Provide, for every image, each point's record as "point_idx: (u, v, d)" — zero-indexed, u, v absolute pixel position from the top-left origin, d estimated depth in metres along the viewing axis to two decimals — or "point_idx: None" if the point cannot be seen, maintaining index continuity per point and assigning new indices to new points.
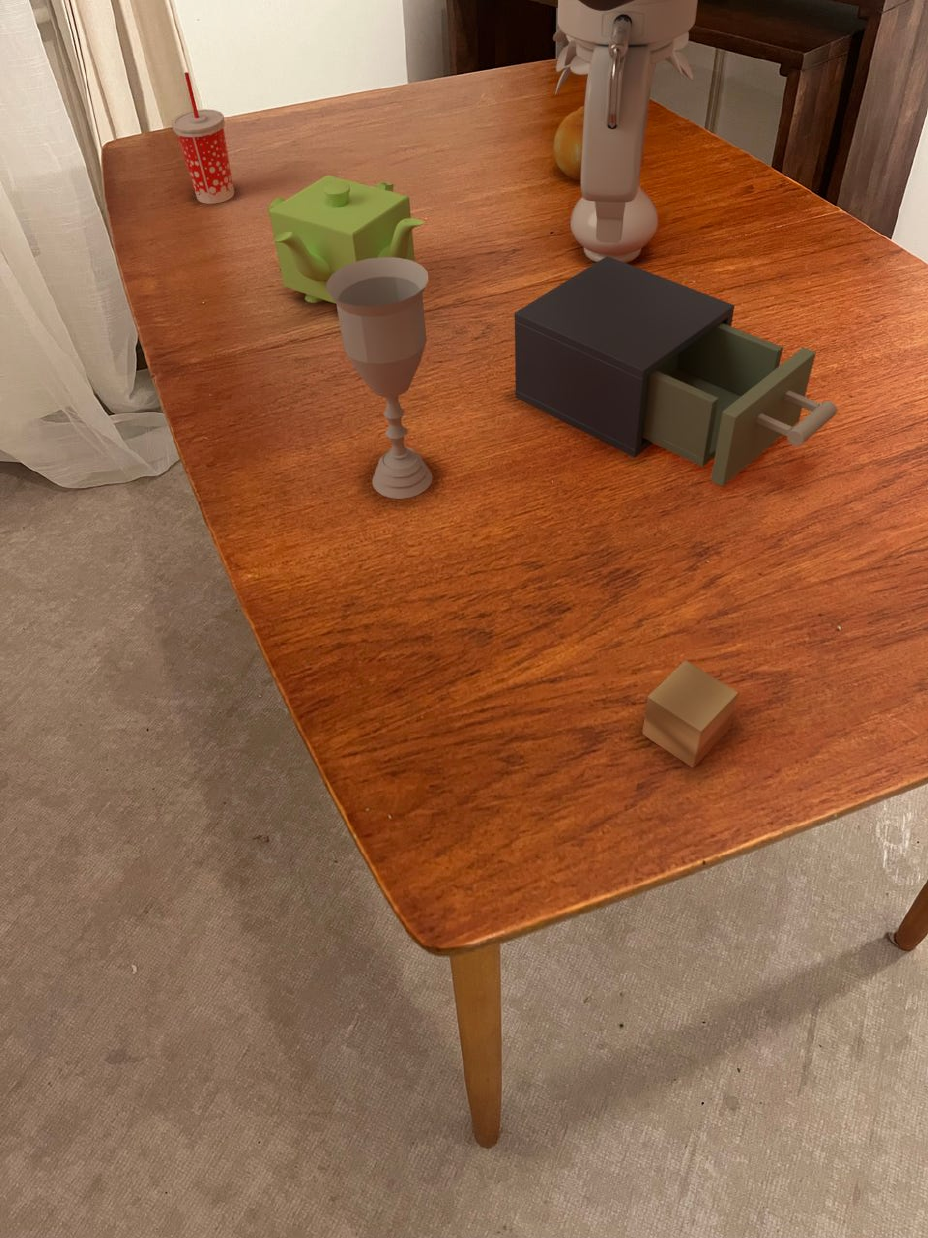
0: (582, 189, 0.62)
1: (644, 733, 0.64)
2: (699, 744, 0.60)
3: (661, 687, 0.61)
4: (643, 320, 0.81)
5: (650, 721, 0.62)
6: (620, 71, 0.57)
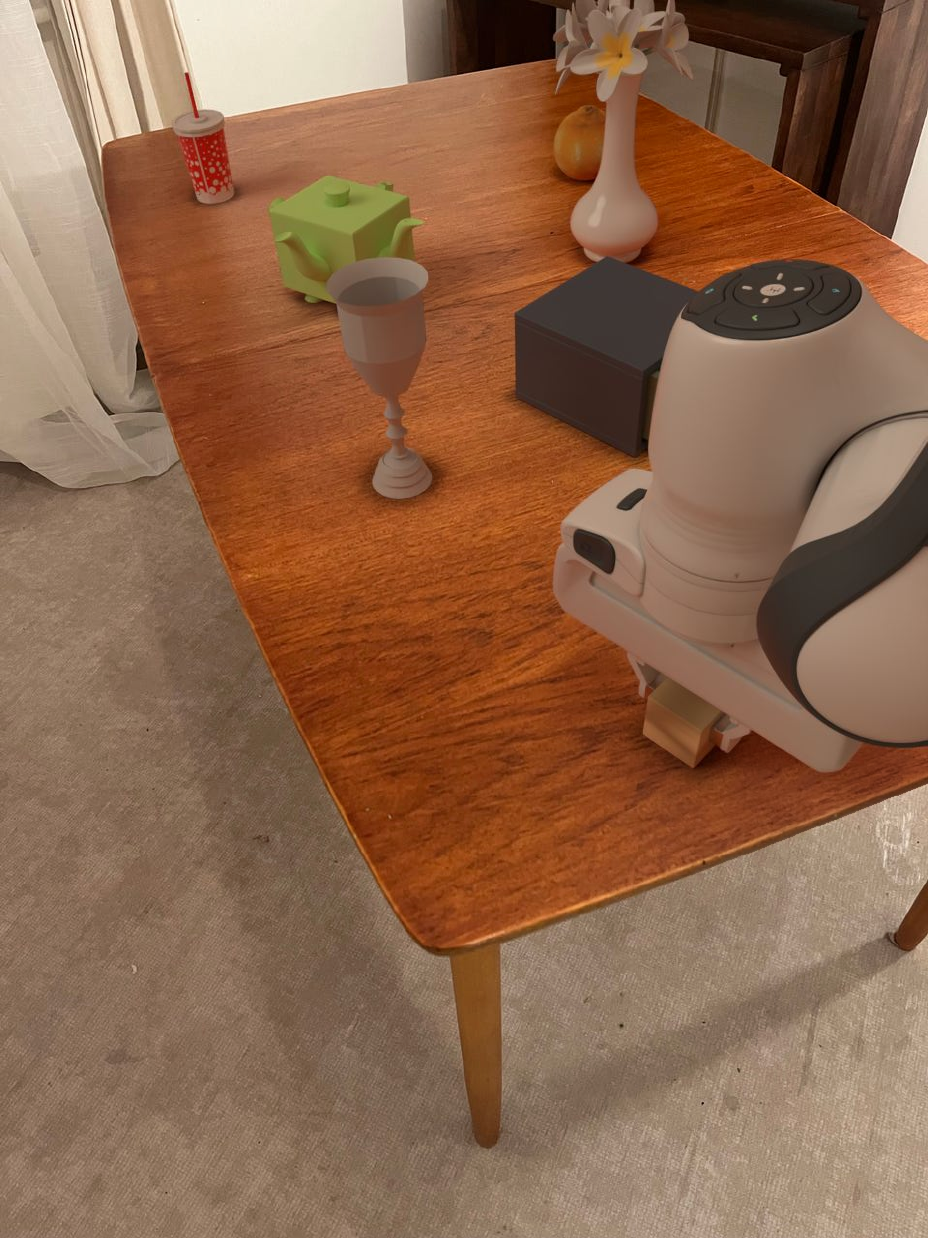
0: (833, 770, 0.53)
1: (644, 733, 0.64)
2: (699, 744, 0.60)
3: (661, 687, 0.61)
4: (643, 320, 0.81)
5: (650, 721, 0.62)
6: None
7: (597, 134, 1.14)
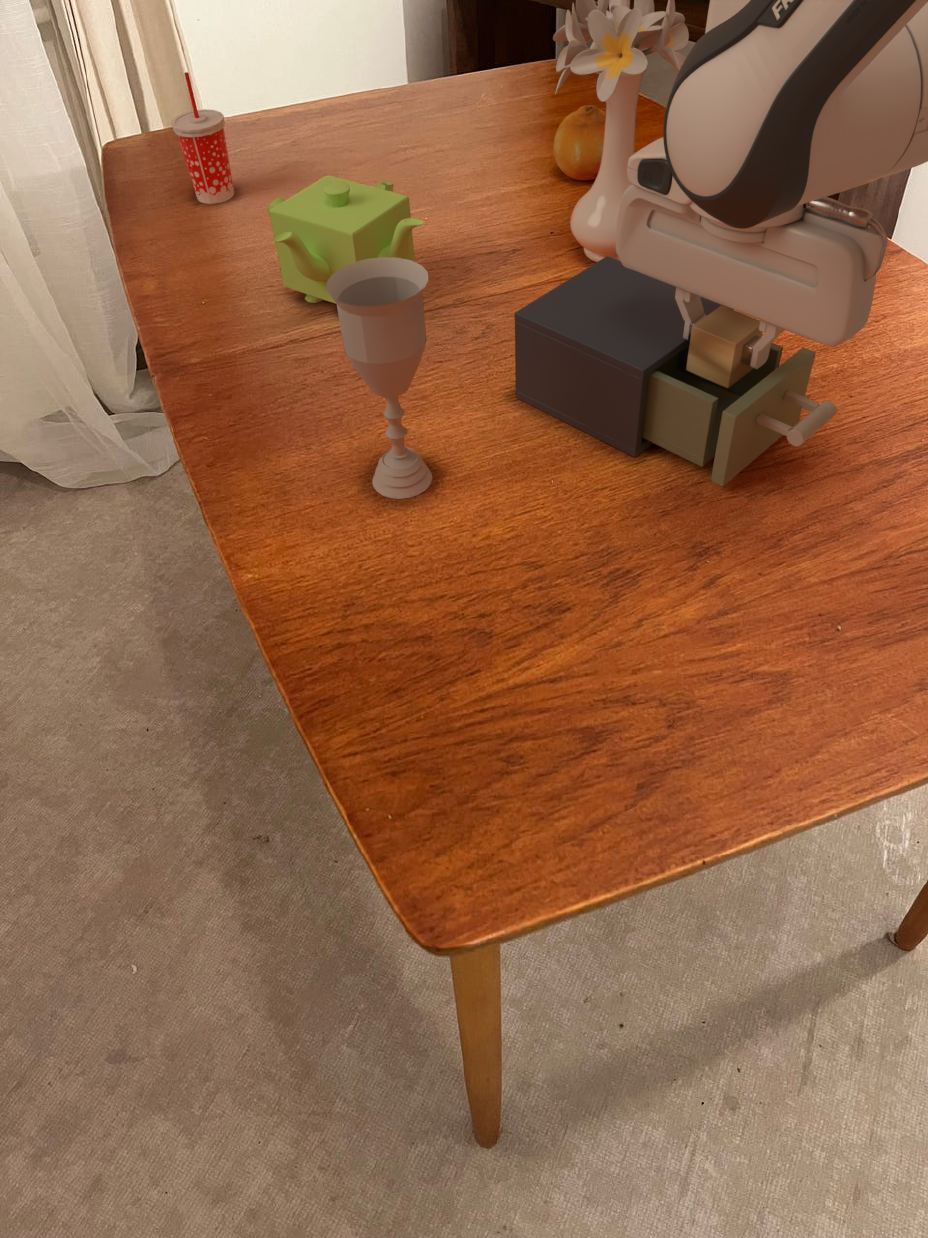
0: (841, 339, 0.68)
1: (687, 368, 0.79)
2: (733, 360, 0.75)
3: (702, 320, 0.77)
4: (643, 320, 0.81)
5: (693, 352, 0.77)
6: (885, 233, 0.64)
7: (597, 134, 1.14)
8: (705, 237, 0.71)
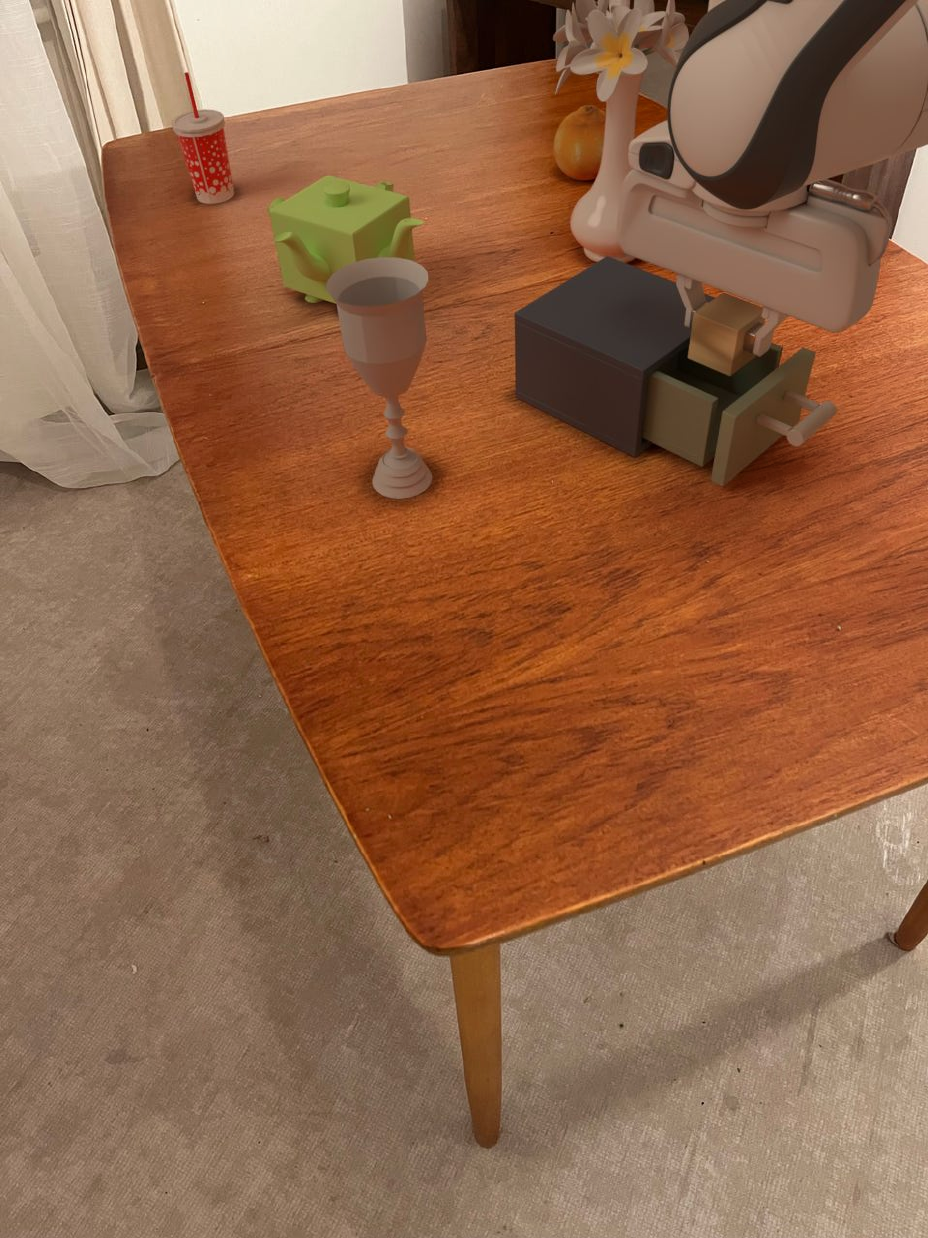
0: (845, 325, 0.67)
1: (689, 356, 0.78)
2: (736, 347, 0.74)
3: (704, 307, 0.76)
4: (643, 320, 0.81)
5: (695, 340, 0.77)
6: (890, 216, 0.63)
7: (597, 134, 1.14)
8: (707, 222, 0.70)
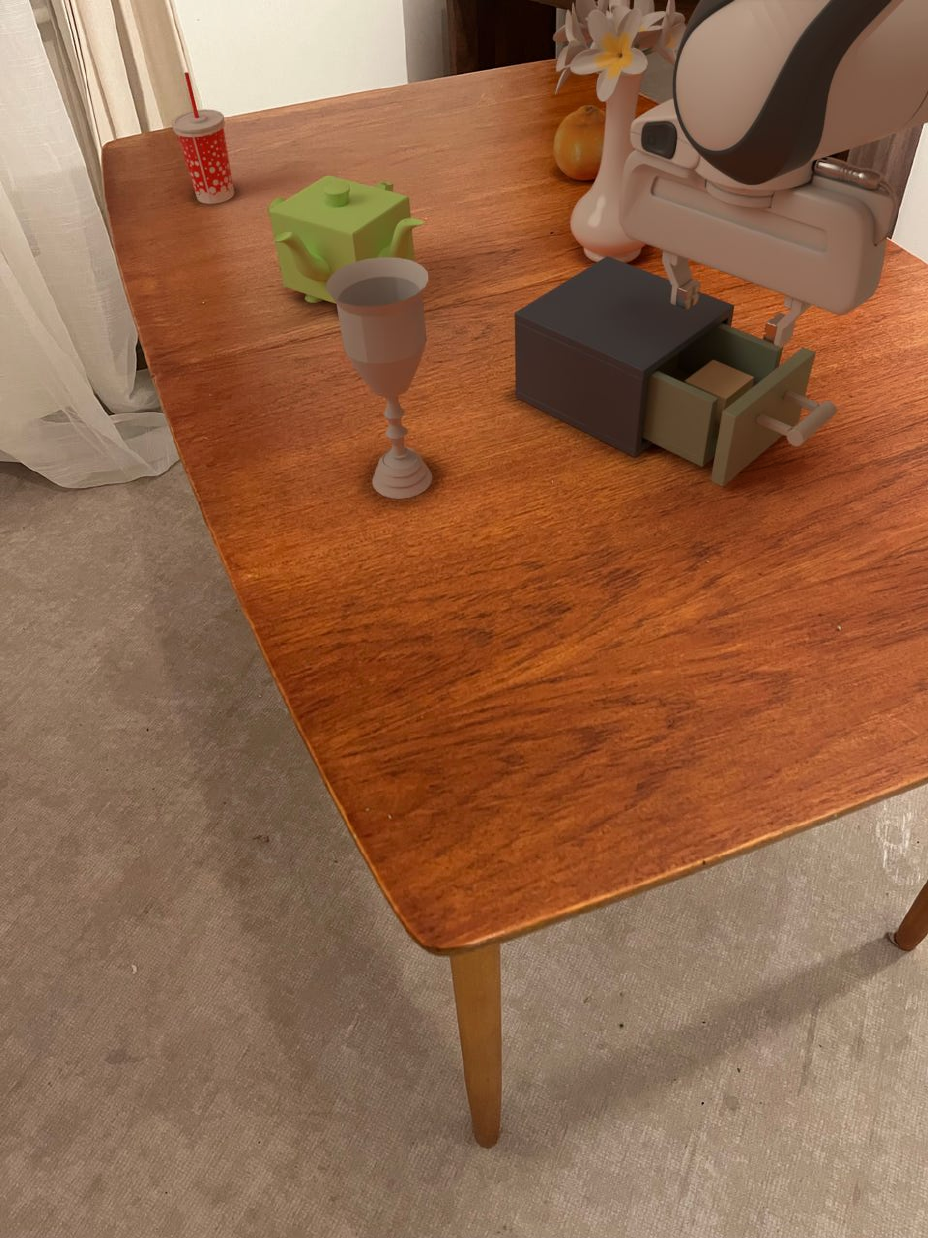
0: (850, 307, 0.66)
1: None
2: None
3: (695, 374, 0.80)
4: (643, 320, 0.81)
5: None
6: None
7: (597, 134, 1.14)
8: (710, 203, 0.70)
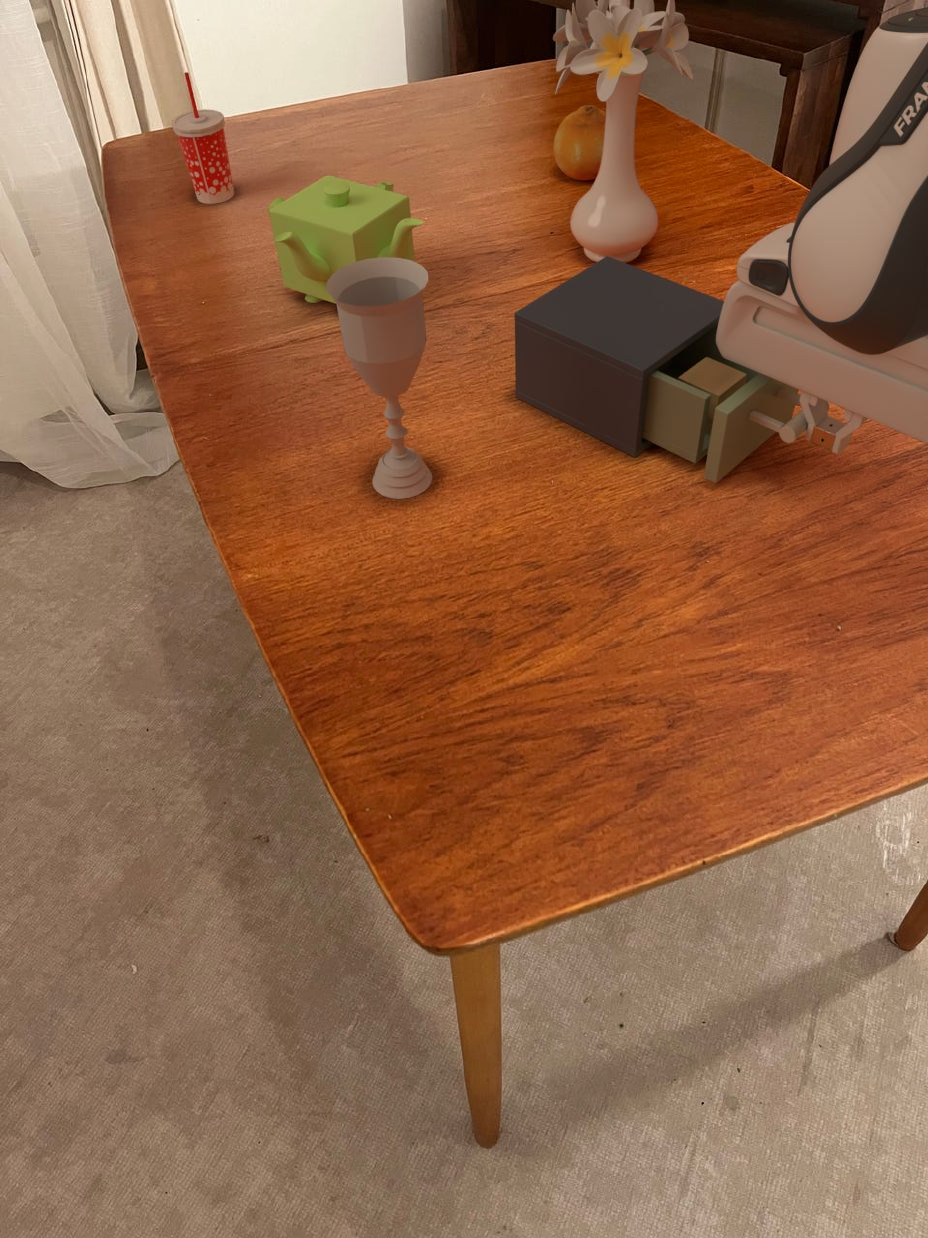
0: None
1: None
2: None
3: (688, 372, 0.81)
4: (643, 320, 0.81)
5: None
6: None
7: (597, 134, 1.14)
8: (816, 336, 0.69)
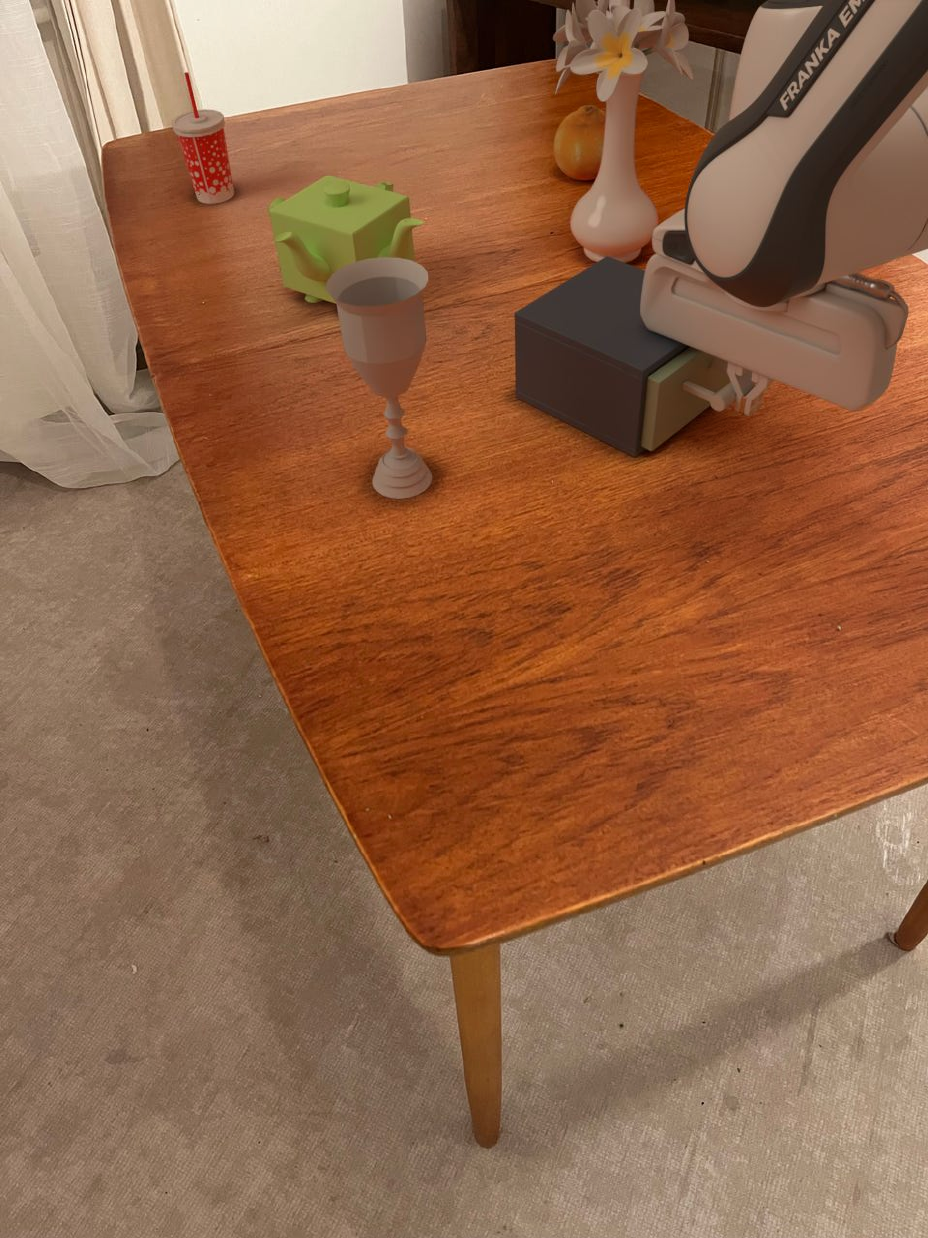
0: (863, 404, 0.70)
1: None
2: None
3: None
4: None
5: None
6: (906, 304, 0.66)
7: (597, 134, 1.14)
8: (728, 304, 0.73)
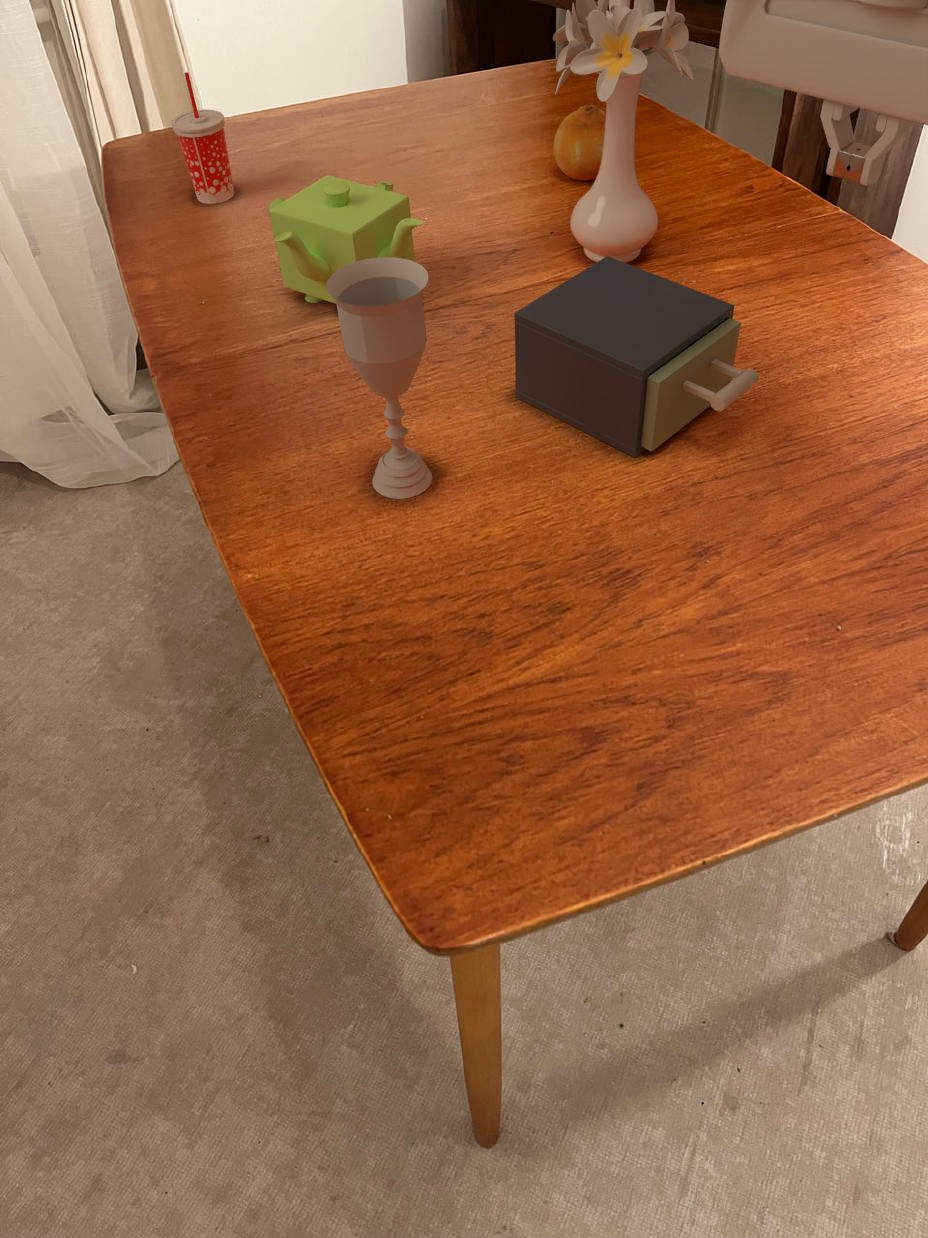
0: None
1: None
2: None
3: None
4: (643, 320, 0.81)
5: None
6: None
7: (597, 134, 1.14)
8: (843, 14, 0.56)
